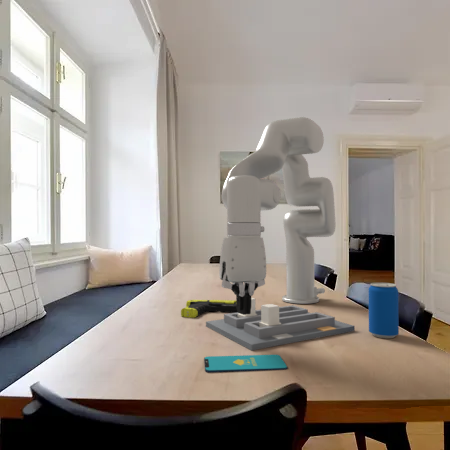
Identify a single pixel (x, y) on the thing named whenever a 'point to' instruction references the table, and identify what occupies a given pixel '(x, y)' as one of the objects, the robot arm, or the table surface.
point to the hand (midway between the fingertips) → (243, 313)
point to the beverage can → (383, 310)
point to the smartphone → (243, 363)
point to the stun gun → (207, 307)
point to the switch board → (278, 327)
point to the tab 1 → (253, 310)
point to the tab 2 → (269, 315)
